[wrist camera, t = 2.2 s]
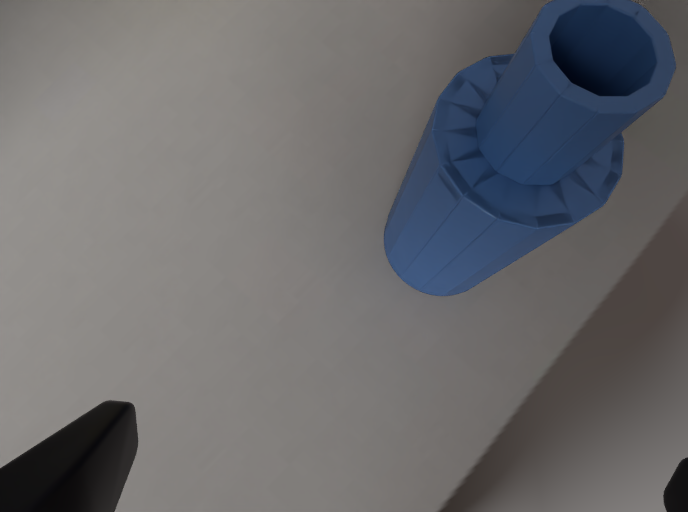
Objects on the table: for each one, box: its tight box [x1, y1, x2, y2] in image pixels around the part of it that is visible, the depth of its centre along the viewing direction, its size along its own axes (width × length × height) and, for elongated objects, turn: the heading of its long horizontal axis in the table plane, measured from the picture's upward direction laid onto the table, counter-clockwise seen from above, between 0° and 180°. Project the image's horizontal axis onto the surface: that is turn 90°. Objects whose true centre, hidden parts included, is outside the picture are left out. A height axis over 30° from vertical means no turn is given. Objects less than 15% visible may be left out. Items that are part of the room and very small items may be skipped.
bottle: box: [384, 0, 676, 296], centre depth 16 cm, size 5×5×14 cm
